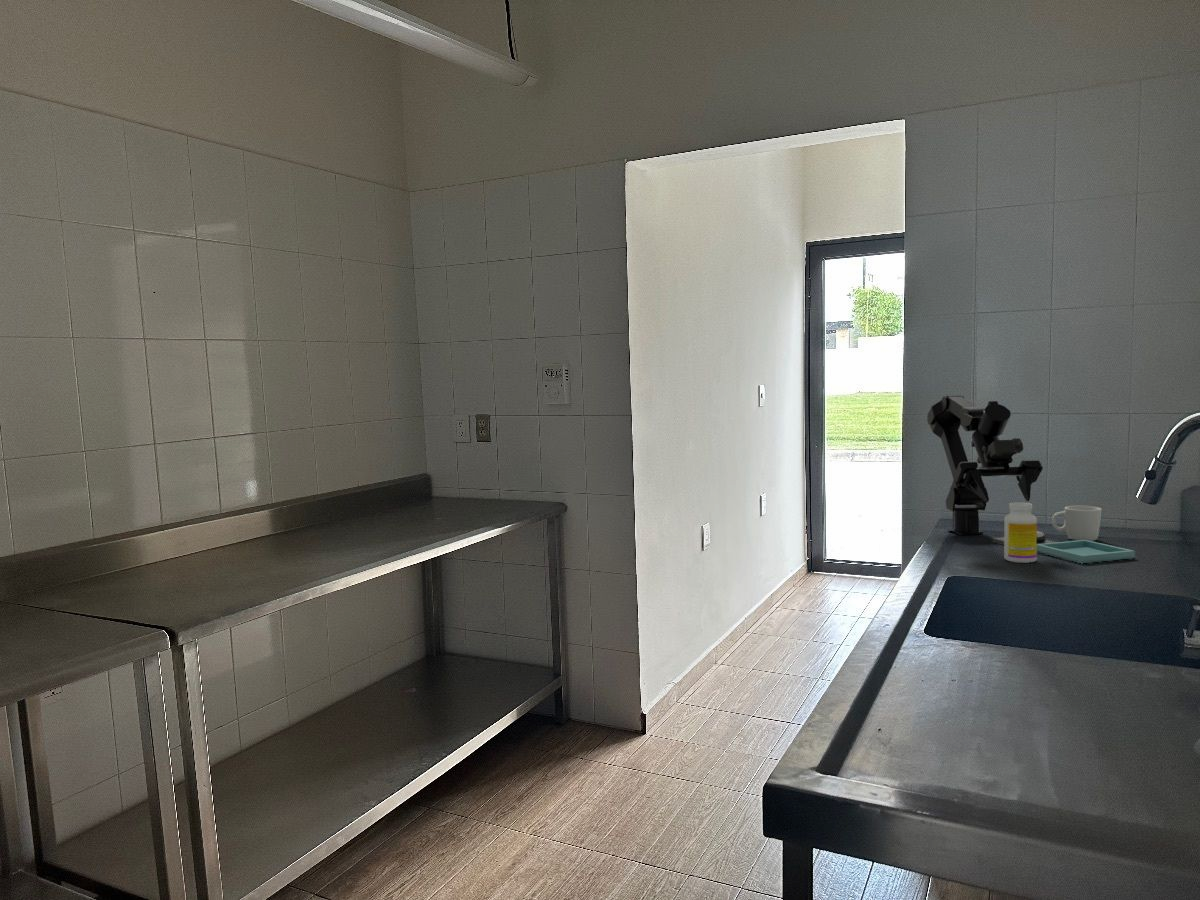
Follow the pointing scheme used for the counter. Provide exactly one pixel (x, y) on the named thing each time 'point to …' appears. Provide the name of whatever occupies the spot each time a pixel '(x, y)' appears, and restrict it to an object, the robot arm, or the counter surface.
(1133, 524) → the counter surface
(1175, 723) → the counter surface
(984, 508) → the robot arm
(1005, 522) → the supplement bottle
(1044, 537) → the block
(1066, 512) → the cup
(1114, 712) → the counter surface
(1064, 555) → the tray
